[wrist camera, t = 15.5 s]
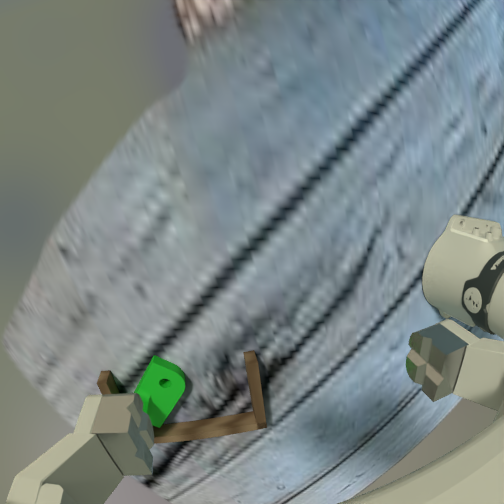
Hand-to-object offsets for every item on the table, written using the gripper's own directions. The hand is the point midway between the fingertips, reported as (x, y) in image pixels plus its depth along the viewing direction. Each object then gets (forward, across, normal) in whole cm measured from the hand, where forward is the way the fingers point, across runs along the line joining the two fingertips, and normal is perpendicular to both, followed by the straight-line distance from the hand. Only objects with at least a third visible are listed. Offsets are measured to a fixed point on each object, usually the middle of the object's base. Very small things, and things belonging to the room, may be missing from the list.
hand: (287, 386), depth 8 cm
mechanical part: (+32, +13, +24) cm, 42 cm away
